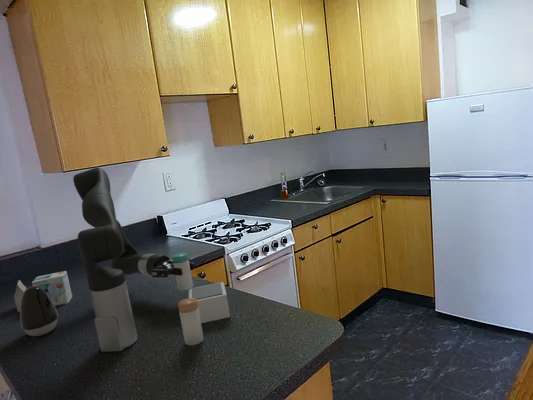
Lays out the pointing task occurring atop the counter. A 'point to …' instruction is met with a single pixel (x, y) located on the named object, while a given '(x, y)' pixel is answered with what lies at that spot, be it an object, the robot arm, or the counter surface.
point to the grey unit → (211, 301)
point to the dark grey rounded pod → (37, 312)
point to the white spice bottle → (190, 321)
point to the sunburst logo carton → (19, 294)
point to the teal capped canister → (183, 271)
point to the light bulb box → (55, 287)
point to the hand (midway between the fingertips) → (187, 269)
